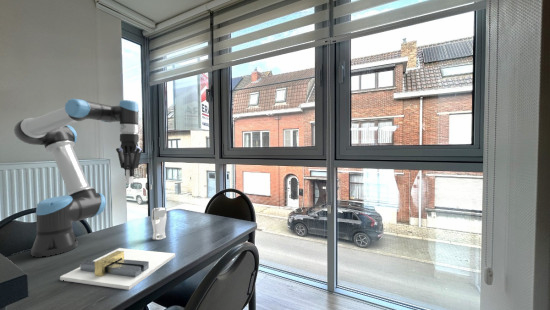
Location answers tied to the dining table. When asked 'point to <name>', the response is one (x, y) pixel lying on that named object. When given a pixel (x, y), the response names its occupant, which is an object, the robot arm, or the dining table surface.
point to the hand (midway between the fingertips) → (129, 183)
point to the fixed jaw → (113, 269)
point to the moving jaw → (133, 263)
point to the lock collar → (107, 262)
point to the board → (118, 280)
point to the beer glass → (159, 223)
